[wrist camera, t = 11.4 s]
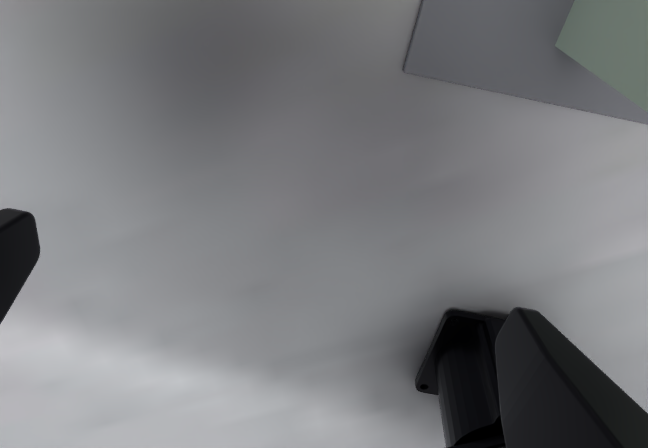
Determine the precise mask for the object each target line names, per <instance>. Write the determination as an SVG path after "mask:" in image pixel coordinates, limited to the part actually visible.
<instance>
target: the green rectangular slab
mask: <svg viewBox="0 0 648 448" xmlns="http://www.w3.org/2000/svg"><path fill="white" fill-rule="evenodd" d="M555 46H556V47H557V48H558V49H560V50H561V51H563V52H564V53H565V54H567V55H568V56H570V57H571V58H572V59H574V60H575V61H576V62H578V63H579V64H581V65H582V66H583V67H585V68H586V69H588V70H589V71H590V72H592V73H593V74H595V75H596V76H597V77H599V78H600V79H602V80H603V81H604V82H606V83H607V84H609V85H610V86H611V87H613V88H614V89H616V90H617V91H618V92H620V93H621V94H623V95H624V96H625V97H627V98H628V99H630V100H631V101H632V102H634V103H635V104H637V105H638V106H639V107H641V108H642V109H644V110H645V111H646V112H648V0H575V1H574V3H573V5H572V8H571V10H570V12H569V14H568V17H567V19H566V21H565V24H564V26H563V28H562V30H561V33H560V35H559V37H558V40H557V42H556V44H555Z"/></svg>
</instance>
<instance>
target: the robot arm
mask: <svg viewBox="0 0 648 448" xmlns="http://www.w3.org/2000/svg"><path fill="white" fill-rule="evenodd" d="M39 255H40V245H39V239H38V233H37V228H36V222H35V218H34V216H33V215H32V214H31V213H29V212H27V211H22V210H16V209H11V208H6V209H2V210H0V324H1V322H2V321H3V319H4V317H5V316H6V314H7V312H8V311H9V309H10V307H11V306H12V304H13V302H14V300H15V299H16V297H17V295H18V294H19V292H20V290H21V288H22V287H23V285H24V283H25V282H26V280H27V278H28V276H29V275H30V273H31V271H32V270H33V268H34V266H35V264H36V263H37V261H38V258H39ZM452 319H457V320H452ZM415 385H416V389H417V390H418V391H420V392H424V393H429V394H435V395H439V402H440V409H441V415H442V422H443V429H444V436H445V443H446V448H648V413H647V412H645V411H644V410H643V409H642V408H641V407H640V406H639V405H638V404H637V403H636V402H635V401H634V400H633V399H632V398H630V397H629V396H628V395H627V394H626V393H625V392H624V391H623V390H622V389H621V388H620V387H619V386H618V385H616V384H615V383H614V382H613V381H612V380H611V379H610V378H609V377H608V376H607V375H606V374H605V373H604V372H603V371H601V370H600V369H599V368H598V367H597V366H596V365H595V364H594V363H593V362H592V361H591V360H590V359H589V358H588V357H586V356H585V355H584V354H583V353H582V352H581V351H580V350H579V349H578V348H577V347H576V346H575V345H574V344H573V343H571V342H570V341H569V340H568V339H567V338H566V337H565V336H564V335H563V334H562V333H561V332H560V331H559V330H558V329H556V328H555V327H554V326H553V325H552V324H551V323H550V322H549V321H548V320H547V319H546V318H545V317H544V316H543V315H541V314H540V313H539V312H538V311H536V310H532V309H527V308H521V307H516V308H514V309H513V310H512V311H511V312H510V314H509V316H508V317H507V319H506V320H503V319H498V318H493V317H488V316H482V315H477V314H472V313H467V312H462V311H457V310H452V311H449V312H447V313H446V314H445V316H444V318H443V320H442V322H441V324H440V327H439V329H438V331H437V333H436V336H435V338H434V340H433V342H432V344H431V347H430V349H429V351H428V353H427V356H426V358H425V360H424V362H423V364H422V367H421V369H420V371H419V373H418V376H417V378H416V380H415Z"/></svg>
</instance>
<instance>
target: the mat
mask: <svg viewBox="0 0 648 448" xmlns="http://www.w3.org/2000/svg"><path fill="white" fill-rule="evenodd" d="M574 1H575V0H422V3H421V7H420V10H419V14H418V17H417V21H416V25H415V28H414V32H413V35H412V39H411V43H410V46H409V50H408V54H407V57H406V61H405V64H404V68H403V70H404V73H408V74H413V75H417V76H422V77H427V78H432V79H436V80H441V81H446V82H450V83H455V84H460V85H465V86H469V87H474V88H479V89H483V90H488V91H493V92H497V93H502V94H507V95H512V96H516V97H521V98H526V99H530V100H535V101H540V102H544V103H549V104H554V105H559V106H563V107H568V108H573V109H577V110H582V111H587V112H591V113H596V114H601V115H606V116H610V117H615V118H620V119H624V120H629V121H634V122H639V123H643V124H648V112H646V111H645V110H644V109H642V108H641V107H639V106H638V105H637V104H635V103H634V102H632V101H631V100H630V99H628V98H627V97H625V96H624V95H623V94H621V93H620V92H618V91H617V90H616V89H614V88H613V87H611V86H610V85H609V84H607V83H606V82H604V81H603V80H602V79H600V78H599V77H597V76H596V75H595V74H593V73H592V72H590V71H589V70H588V69H586V68H585V67H583V66H582V65H581V64H579V63H578V62H576V61H575V60H574V59H572V58H571V57H570V56H568V55H567V54H565V53H564V52H563V51H561V50H560V49H558V48H557V47H556V46H555V44H556V42H557V40H558V37H559V35H560V33H561V30H562V28H563V26H564V24H565V21H566V19H567V17H568V14H569V12H570V10H571V8H572V5H573V3H574Z"/></svg>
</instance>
